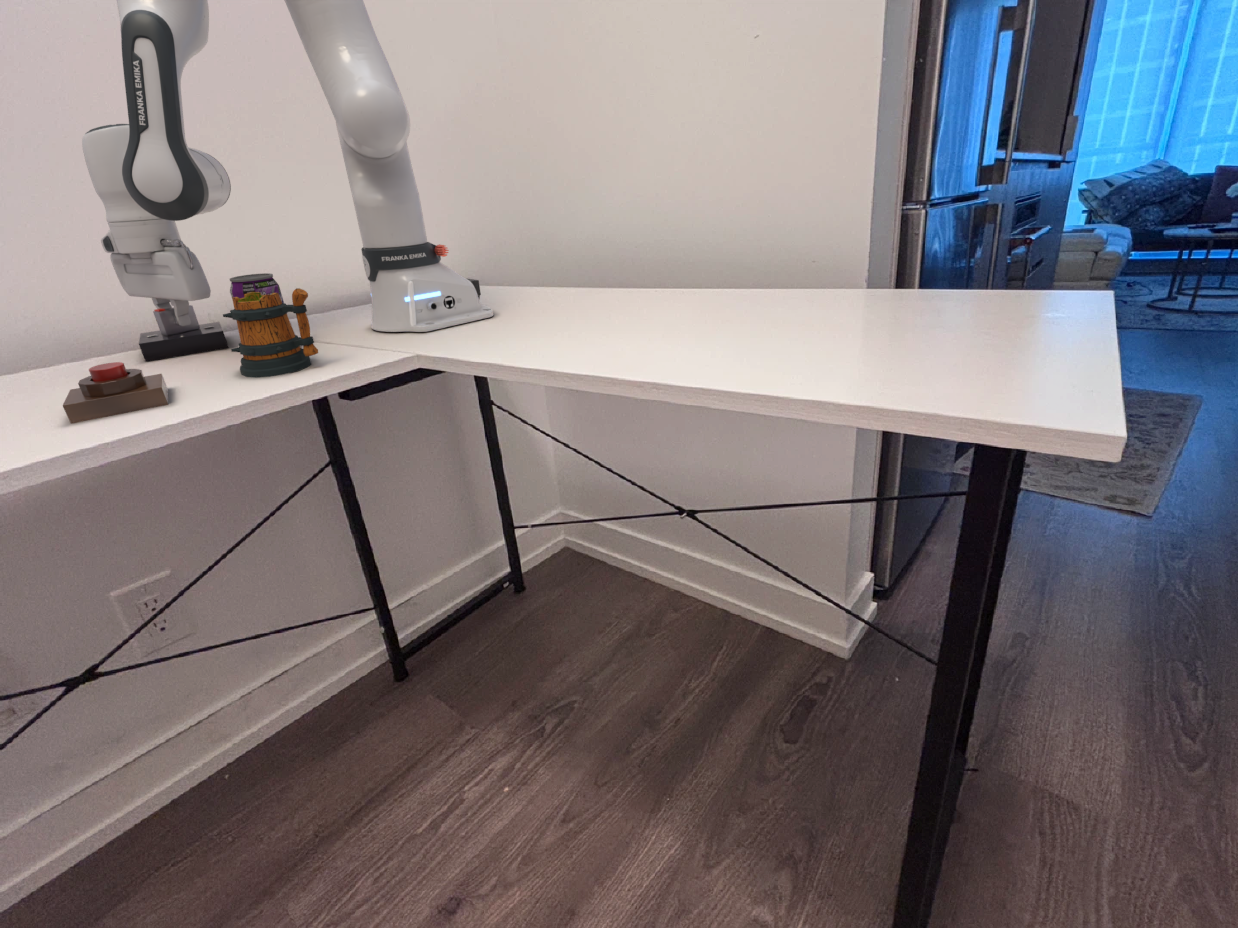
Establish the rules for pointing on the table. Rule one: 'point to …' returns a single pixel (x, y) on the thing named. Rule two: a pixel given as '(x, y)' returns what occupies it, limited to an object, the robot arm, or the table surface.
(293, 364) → the mug
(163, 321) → the tilted grey flap
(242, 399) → the table surface
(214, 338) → the black flat block
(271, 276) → the beverage can
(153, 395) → the block
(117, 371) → the button
